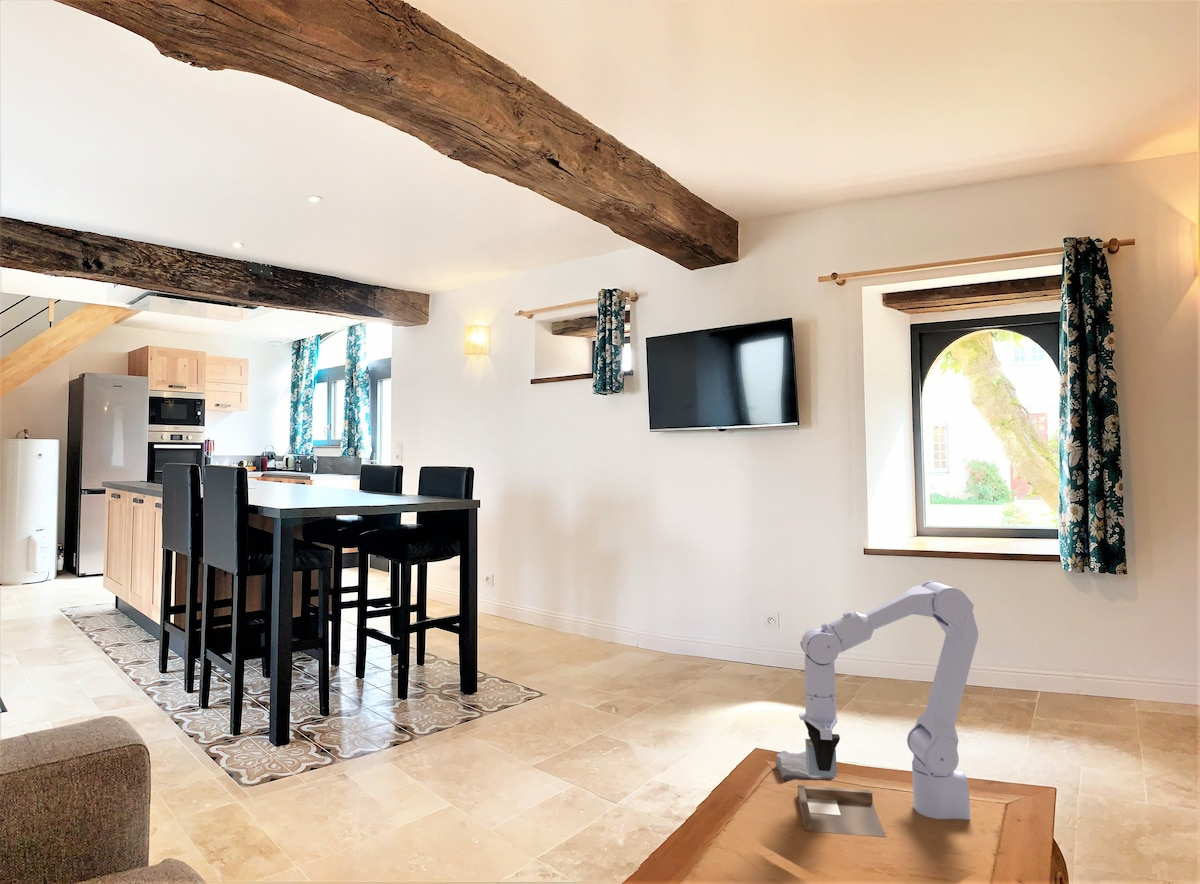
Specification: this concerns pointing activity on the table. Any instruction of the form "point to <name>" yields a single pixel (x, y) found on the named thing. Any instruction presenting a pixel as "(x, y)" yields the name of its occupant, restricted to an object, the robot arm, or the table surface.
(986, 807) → the table surface
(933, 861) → the table surface
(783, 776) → the stone block
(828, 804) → the tray
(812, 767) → the cube
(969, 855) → the table surface
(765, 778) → the table surface
